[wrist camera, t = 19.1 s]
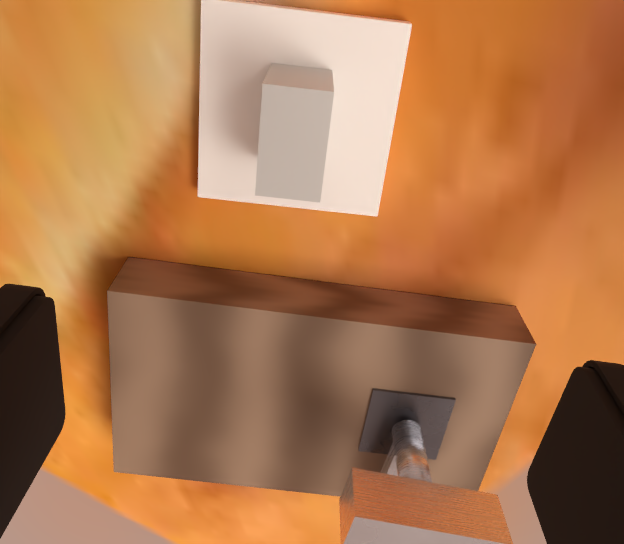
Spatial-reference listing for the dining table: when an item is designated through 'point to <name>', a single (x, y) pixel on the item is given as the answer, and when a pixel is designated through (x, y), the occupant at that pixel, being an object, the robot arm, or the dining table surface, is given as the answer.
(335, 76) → the cover
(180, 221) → the dining table surface
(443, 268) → the dining table surface
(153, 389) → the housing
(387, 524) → the latch
